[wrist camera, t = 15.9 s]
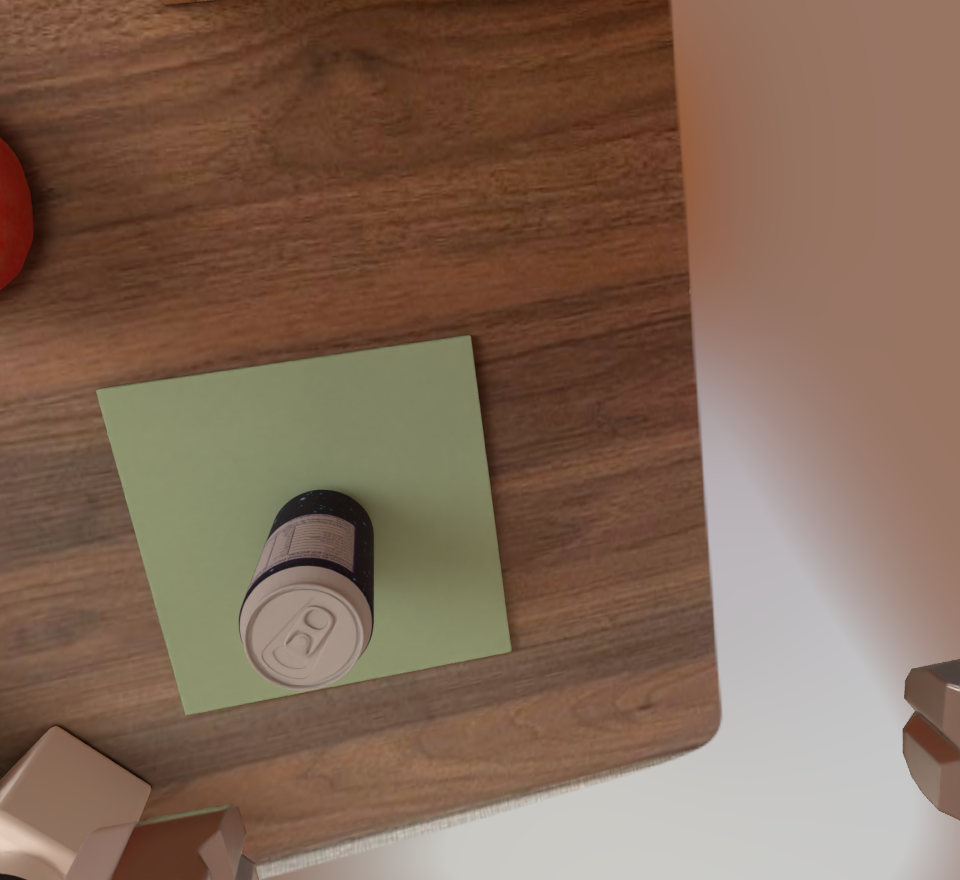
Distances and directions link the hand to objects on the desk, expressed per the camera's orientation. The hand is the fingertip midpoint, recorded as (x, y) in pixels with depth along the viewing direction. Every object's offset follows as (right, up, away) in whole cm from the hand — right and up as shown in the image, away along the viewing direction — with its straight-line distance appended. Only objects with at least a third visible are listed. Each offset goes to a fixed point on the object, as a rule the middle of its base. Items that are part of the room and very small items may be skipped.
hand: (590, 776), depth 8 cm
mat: (-10, -1, +33) cm, 34 cm away
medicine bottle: (-26, -17, +35) cm, 47 cm away
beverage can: (-10, -1, +32) cm, 34 cm away
